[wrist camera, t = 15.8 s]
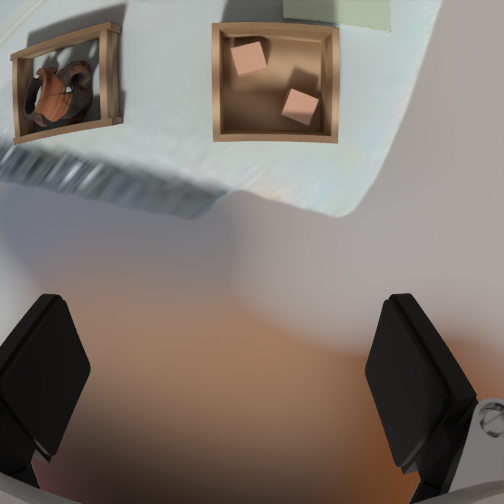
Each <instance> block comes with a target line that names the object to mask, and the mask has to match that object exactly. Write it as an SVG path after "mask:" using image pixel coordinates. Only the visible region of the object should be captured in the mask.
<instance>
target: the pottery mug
mask: <svg viewBox="0 0 504 504" xmlns="http://www.w3.org/2000/svg"><path fill="white" fill-rule="evenodd" d="M56 72H57V69H55V68H53V67H49V68H47V69H45V68H40V69H38V70H37V73H36V74H37V75H39V77H38V78H37V79H36V78H32V79H31V80H30V82H29V85H28V87H27V91H26V94H25V100H24V115H25V117H26V118H27V119H29V120H32V119H33V120H34V121H35V122H36V123H37V124H39V125H41V126H42V127H45V126H47V123H45V122H44V120H43V115H44V117H46V118H47V119H48V120H50V121H51V122H52V121H58V120H59V119H60V118H61V119H67V118H70V119H69V120H68V121H67V122H66V125H73V124H78V123H79V122H80V121H81V120H82V119H83V118H84V116H85V115H86V113H87V111H88V110H89V107H90V105H91V101H92V93H93V91H92V90H89V89H88V88H86V86H87V85H88V81H89V79H90V76H91V73H92V70H91V67H90V65H89V64H88V62H86V61H74V62H72V63H70V64H69V65H68V66H67V67H66V68H65V69H61V70H60V71H59V72H58V75H55V73H56ZM42 84H43V86H42V91H41V95H40V100H39V101H38V104H37V106H36V108H35V105H34V103H35V102H36V98H37V93H38V90H39V88H40V87H41V85H42ZM66 87H70V88H71V90H72V91H71V92H66Z"/></svg>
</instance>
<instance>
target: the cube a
mask: <svg viewBox="0 0 504 504" xmlns="http://www.w3.org/2000/svg"><path fill="white" fill-rule="evenodd" d="M231 52H232V56H233V59H234V62H235V66H236V69H237V72H238V76H239V77H243V76H247V75H250V74H255V73H259V72H263V71H266V70H267V64H266V61H265V58H264V54H263V51H262V48H261V44H260V41H259V42H255V43H251V44H247V45H242V46H239V47H235V48H231Z"/></svg>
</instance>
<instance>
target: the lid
mask: <svg viewBox="0 0 504 504" xmlns="http://www.w3.org/2000/svg"><path fill="white" fill-rule="evenodd" d="M283 19H293V20H307V21H317V22H327V23H335V24H342V25H349V26H356V27H362V28H367V29H373V30H378V31H383V32H388V33H390V32H391V19H390V3H389V0H283Z"/></svg>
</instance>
